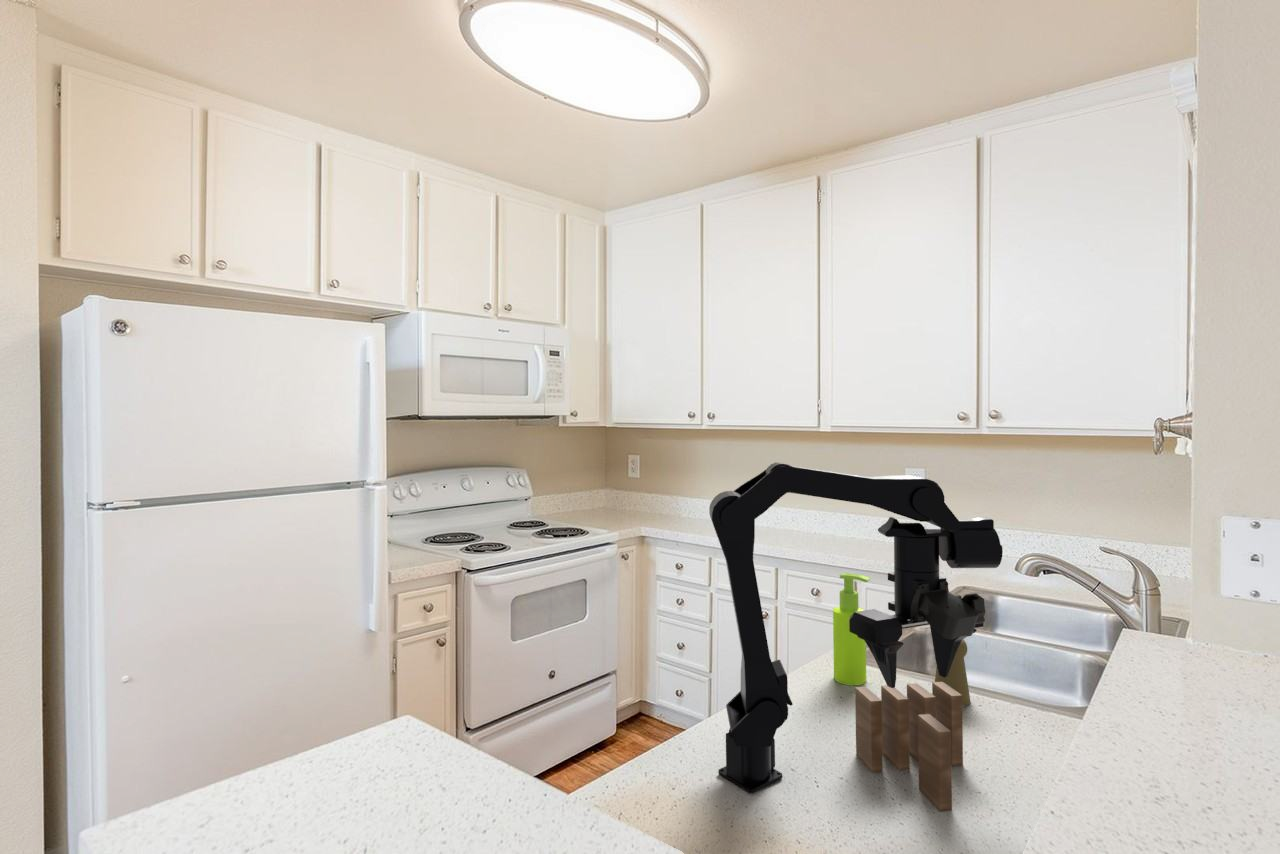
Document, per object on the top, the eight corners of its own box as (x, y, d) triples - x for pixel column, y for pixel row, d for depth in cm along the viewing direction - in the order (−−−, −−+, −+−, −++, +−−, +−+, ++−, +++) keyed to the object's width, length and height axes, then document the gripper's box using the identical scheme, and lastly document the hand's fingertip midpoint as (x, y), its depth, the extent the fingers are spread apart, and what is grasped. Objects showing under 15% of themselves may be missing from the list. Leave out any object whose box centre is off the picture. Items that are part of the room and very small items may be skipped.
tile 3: (925, 768, 94) (924, 697, 94) (907, 750, 99) (906, 683, 99) (936, 767, 94) (935, 696, 94) (917, 750, 99) (916, 683, 99)
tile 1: (871, 772, 93) (870, 701, 93) (856, 754, 98) (855, 687, 98) (882, 771, 94) (881, 700, 93) (866, 754, 98) (865, 686, 98)
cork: (975, 707, 113) (974, 643, 113) (937, 705, 115) (936, 641, 115) (965, 693, 119) (964, 632, 119) (929, 691, 121) (928, 630, 120)
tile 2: (899, 770, 94) (898, 699, 94) (882, 752, 99) (881, 685, 99) (909, 769, 94) (908, 698, 94) (892, 752, 99) (891, 684, 99)
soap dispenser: (865, 689, 122) (864, 580, 122) (829, 680, 126) (827, 575, 126) (876, 679, 127) (874, 573, 126) (840, 671, 131) (839, 569, 130)
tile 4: (952, 766, 95) (951, 695, 95) (932, 748, 100) (932, 682, 100) (962, 765, 95) (962, 695, 95) (943, 748, 100) (942, 681, 100)
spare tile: (940, 811, 84) (939, 732, 84) (918, 789, 89) (918, 714, 89) (951, 810, 84) (951, 731, 84) (930, 788, 89) (929, 714, 89)
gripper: (906, 589, 80) (907, 717, 81) (1018, 573, 87) (1019, 692, 87) (846, 570, 91) (847, 684, 91) (950, 557, 98) (951, 664, 98)
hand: (917, 681), depth 92 cm, fingers open, 9 cm apart
